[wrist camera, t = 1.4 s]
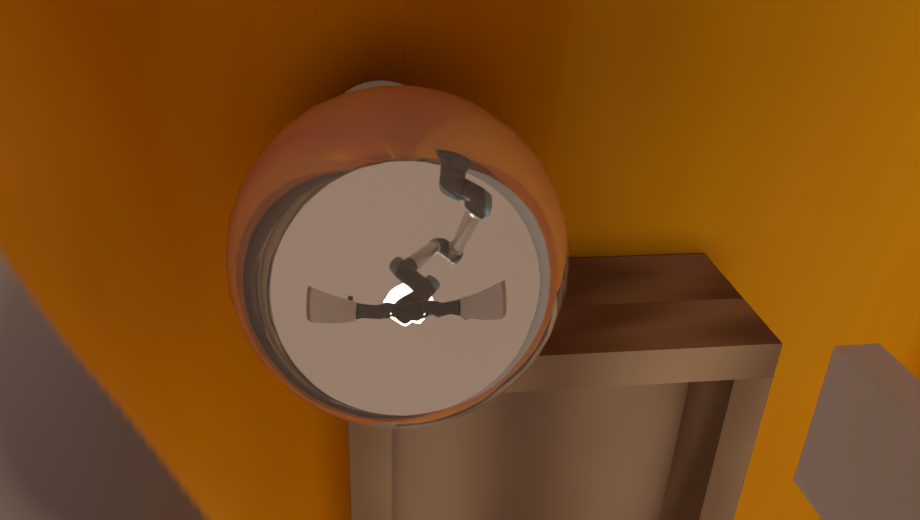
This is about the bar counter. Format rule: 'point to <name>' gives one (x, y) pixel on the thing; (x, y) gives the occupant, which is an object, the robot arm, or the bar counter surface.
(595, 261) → the walnut box
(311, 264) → the light bulb
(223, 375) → the bar counter surface
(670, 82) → the bar counter surface
